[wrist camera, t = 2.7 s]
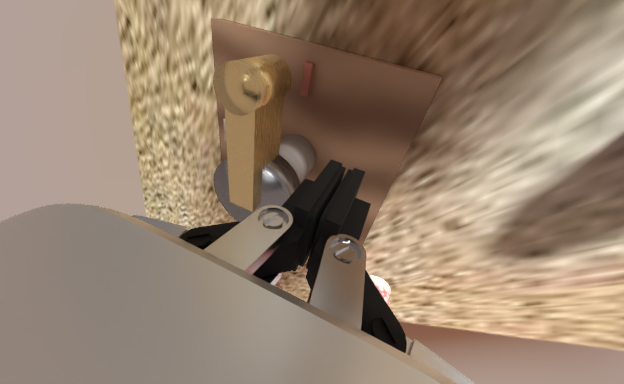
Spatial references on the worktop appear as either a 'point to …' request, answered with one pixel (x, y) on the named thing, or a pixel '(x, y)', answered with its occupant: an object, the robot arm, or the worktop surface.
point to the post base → (336, 107)
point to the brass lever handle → (253, 135)
